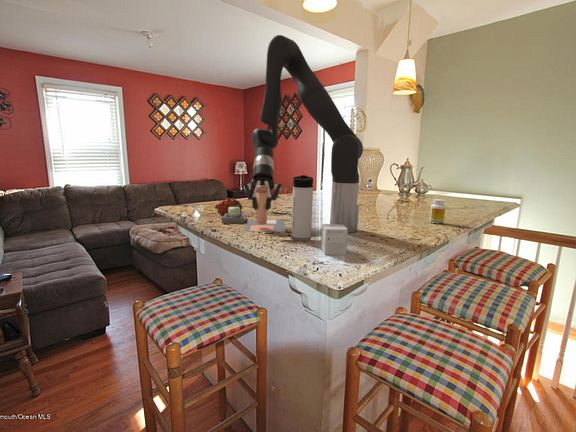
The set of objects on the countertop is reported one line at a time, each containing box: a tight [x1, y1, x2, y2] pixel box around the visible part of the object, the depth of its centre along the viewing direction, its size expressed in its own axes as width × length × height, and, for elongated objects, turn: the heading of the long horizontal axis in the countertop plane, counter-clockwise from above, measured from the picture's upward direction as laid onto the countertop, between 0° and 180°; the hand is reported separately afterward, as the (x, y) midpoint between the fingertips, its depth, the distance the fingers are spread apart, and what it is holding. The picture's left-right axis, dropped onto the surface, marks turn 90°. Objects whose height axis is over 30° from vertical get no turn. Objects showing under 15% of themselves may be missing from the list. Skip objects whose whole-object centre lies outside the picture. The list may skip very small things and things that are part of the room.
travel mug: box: [291, 174, 314, 242], centre depth 97 cm, size 6×7×20 cm
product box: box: [320, 223, 349, 256], centre depth 86 cm, size 6×6×7 cm
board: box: [243, 219, 286, 233], centre depth 111 cm, size 14×18×1 cm
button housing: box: [221, 213, 247, 224], centre depth 117 cm, size 8×8×3 cm
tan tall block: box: [255, 185, 268, 225], centre depth 105 cm, size 4×4×13 cm
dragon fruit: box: [214, 197, 243, 215], centre depth 130 cm, size 8×8×12 cm
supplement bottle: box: [428, 198, 446, 224], centre depth 126 cm, size 5×5×10 cm
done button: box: [228, 207, 241, 217], centre depth 117 cm, size 4×4×4 cm
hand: (261, 208), depth 104 cm, fingers closed on tan tall block, 3 cm apart
